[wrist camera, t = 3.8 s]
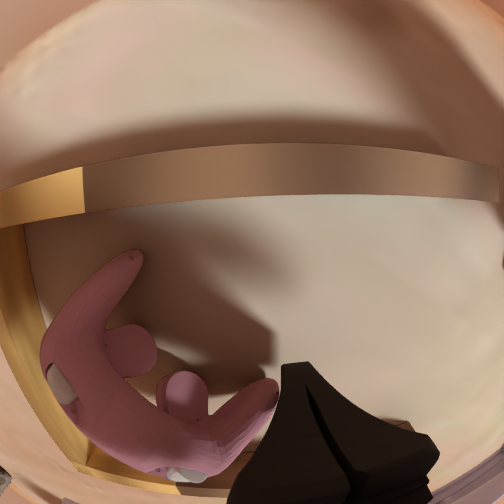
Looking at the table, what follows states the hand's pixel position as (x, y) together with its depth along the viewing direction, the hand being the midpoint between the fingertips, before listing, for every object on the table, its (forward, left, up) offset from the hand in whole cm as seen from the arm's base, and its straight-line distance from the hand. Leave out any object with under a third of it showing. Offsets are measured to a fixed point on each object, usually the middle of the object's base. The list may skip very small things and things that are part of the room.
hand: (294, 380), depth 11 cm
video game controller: (+6, -1, -2) cm, 6 cm away
